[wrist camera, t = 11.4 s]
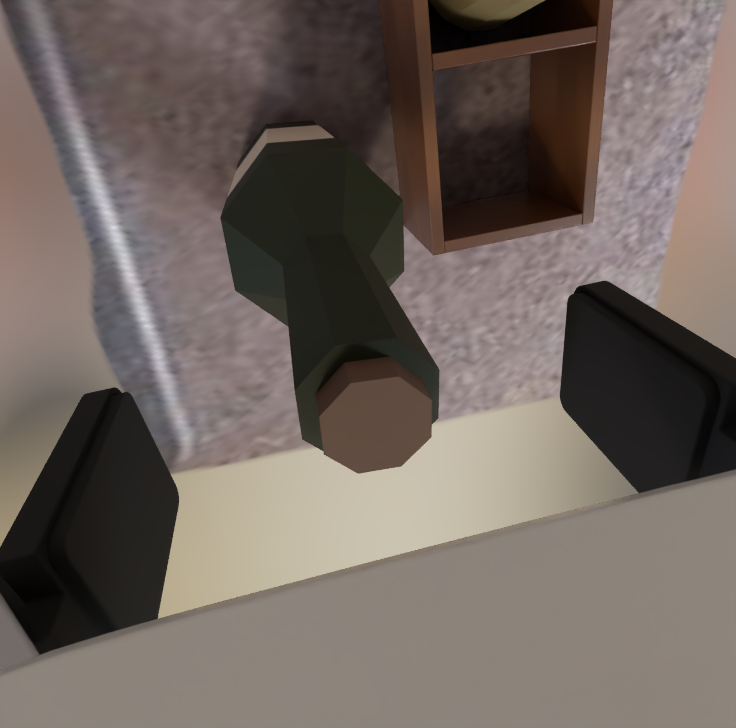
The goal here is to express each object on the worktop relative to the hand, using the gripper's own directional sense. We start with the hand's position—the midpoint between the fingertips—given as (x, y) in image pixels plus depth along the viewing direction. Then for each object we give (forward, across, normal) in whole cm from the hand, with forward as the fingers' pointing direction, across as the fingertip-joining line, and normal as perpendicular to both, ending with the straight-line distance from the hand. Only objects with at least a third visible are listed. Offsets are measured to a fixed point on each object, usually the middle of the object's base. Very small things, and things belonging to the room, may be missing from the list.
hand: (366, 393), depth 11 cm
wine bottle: (+30, 0, +1) cm, 30 cm away
